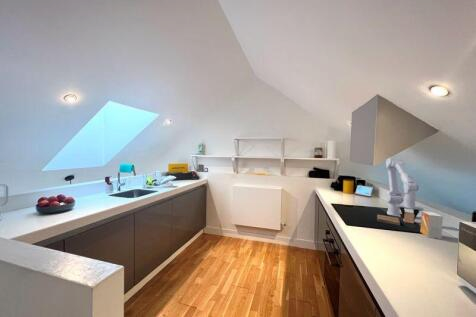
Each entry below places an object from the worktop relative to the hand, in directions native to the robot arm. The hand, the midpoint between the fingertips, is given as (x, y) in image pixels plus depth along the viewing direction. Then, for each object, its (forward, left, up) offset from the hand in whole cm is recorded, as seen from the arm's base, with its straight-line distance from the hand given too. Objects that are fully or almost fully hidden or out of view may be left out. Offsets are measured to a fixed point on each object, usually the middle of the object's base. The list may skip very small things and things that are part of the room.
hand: (408, 219), depth 143 cm
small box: (+23, +7, -2) cm, 24 cm away
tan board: (+7, -12, -2) cm, 14 cm away
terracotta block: (0, 0, -2) cm, 2 cm away
